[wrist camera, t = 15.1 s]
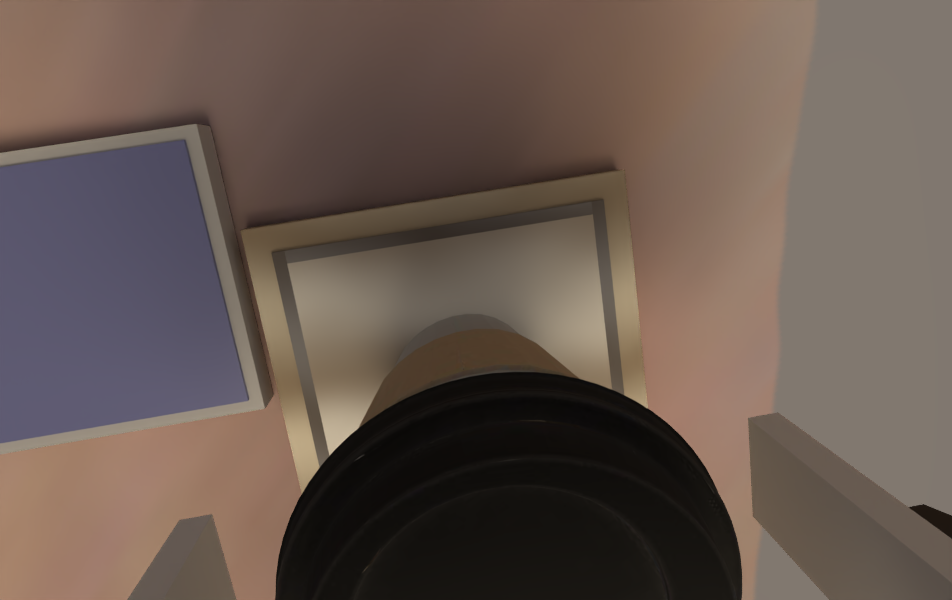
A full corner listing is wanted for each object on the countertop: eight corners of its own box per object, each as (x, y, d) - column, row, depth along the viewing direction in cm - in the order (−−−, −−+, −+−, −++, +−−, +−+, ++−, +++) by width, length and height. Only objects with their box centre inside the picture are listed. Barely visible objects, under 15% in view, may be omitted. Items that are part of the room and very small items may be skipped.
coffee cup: (475, 527, 27) (538, 952, 12) (300, 393, 25) (132, 709, 11) (626, 367, 26) (886, 624, 11) (456, 216, 24) (510, 292, 10)
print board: (247, 228, 25) (238, 231, 24) (616, 169, 26) (626, 169, 24) (324, 559, 28) (319, 576, 27) (649, 499, 29) (659, 513, 28)
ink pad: (-88, 170, 23) (-127, 171, 22) (210, 126, 24) (194, 123, 22) (5, 441, 26) (-24, 460, 24) (273, 395, 26) (263, 410, 25)
